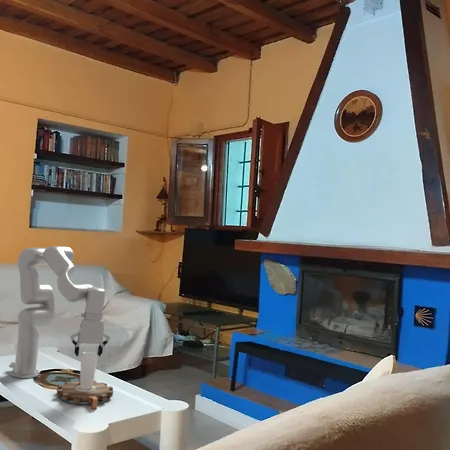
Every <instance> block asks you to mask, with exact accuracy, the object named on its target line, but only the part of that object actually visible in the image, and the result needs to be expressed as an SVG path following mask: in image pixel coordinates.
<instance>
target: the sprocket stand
mask: <svg viewBox="0 0 450 450" xmlns="http://www.w3.org/2000/svg"><path fill="white" fill-rule="evenodd" d="M57 397H58V399H59V400H61V401H62V402H64V403H66V404H70V405H76V406H89V407H90V408H91V410H97V408H98V405H101V404H104V403H106V402H108V401H110V400H111V398H112V397H107V400H105V401H101V400H98V398H97V397H91V403H89V402H88V401H81V402H80V403H78V402H74V400H71V399H68V400H64V399H62V396H58V395H57Z"/></svg>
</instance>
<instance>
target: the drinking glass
mask: <svg viewBox="0 0 450 450" xmlns="http://www.w3.org/2000/svg"><path fill="white" fill-rule="evenodd" d="M97 364H98V352H95V351H83V352H81V356H80V372H81V374H80V373H79V379H80V388H81V389H85V390H87V389H91V388H92V387H93V381H95V380H94V379H95V374H96V369H97Z"/></svg>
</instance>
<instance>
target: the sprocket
mask: <svg viewBox="0 0 450 450" xmlns="http://www.w3.org/2000/svg"><path fill="white" fill-rule="evenodd" d="M80 374H81V371H80V372H79V375H80ZM56 396H57V397H58V396H62V399H64V400H68V399H71V400H74V402H78V403H80V402H81V401H88V402H89V403H91V397H97V398H98V400H101V401H105V400H107V397H111V398H112V397H113V396H114V387H113V386H108V383H106V382H101V383H100V382H97V381H96V380H93V387H92V388H91V389H87V390H85V389H81V388H80V378H79V379H78V380H76V381H66V382H64V384H58V385H57V389H56Z"/></svg>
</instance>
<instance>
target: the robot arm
mask: <svg viewBox="0 0 450 450" xmlns="http://www.w3.org/2000/svg"><path fill="white" fill-rule="evenodd" d="M74 260H75V254H74V251H73V249H72V248H70V247H69V246H65V245H64V246H63V245H62V246H59V245H52V246H48V247H27V248H24V249H23V250H22V251H20V252H19V255H18V257H17V268H18V272H19V284H20V285H19V287H20V300H21V302H22V304H24V305H26V306H27V305H28V306H29V305H38V306H33V307H32V306H31V307H27V308H23V309H21V310H20V311H19V312H18V314H17V326H18V328H17V329H18V330H17V331H18V332H17V333H18V334H17V342H16V353H15V362H14V361H12V362H11V363H10V364H8V367H9V368H10V369H11V368H12V370H11V371H10V376H12V377H14V378H16V379H32V378H36V377H38V376H39V374H40V372H39V370H37V361H38V355H39V345H40V334H39V332H38V329H37V328H43V327H48V326H51V325H52V324H53V323H54V321H55V316H56V315H55V314H56V312H55V311H56V310H55V309H56V307H55V305H56V304H55V292H54V289H53V288H52V286H51V285H49V284H47V283H40V274H39V272H38V270H37V268H36V267H35V266H37V267H38V266H39V267H41V266H48V267H49V268H50V269H51V270H52V271H53V273H54V274H55V275H56V276H57V280H56V283H57V288H58V291H59V293H60V294H61V295H62V296H63V297H64V298H65V300H66V301H68V302H69V303H82V302H83V303H84V302H85V307H84V308H85V309H84V312H81V313H80V317H82V319H81V323H80V326H79V330H78V331H76V332H75V333H73V334H71V335H69V338H70V341H71V343H72V344H73V345H74V351H73V352H74V355H75V356H76V357H79V353H80V345H81V344H94V345H95V344H98V347H97V348H98V350H97V357H98V356H99V357H101V356H102V354H103V350H104V347H105V346H106V345H107V344H108V343H109V341H110V339H111V336H110V335H109V334H106V333H105V332H104V330H105V329H104V328H105V327H104V326H105V325H104V324H105V321H104V319H103V313H104V306H105V298H106V290H105V289H104V288H101V287H96V286H94V285H93V284H90V283H89V284H88V283H86V284H83V283H82V284H74V283H73V282H72V281H71V280H70V277H71V276H72V275H73V274H74V272H75V271H76V268H75V267H76V266H75V265H74V263H72V262H73V261H74ZM76 337H77V341H76V340H75V338H76ZM104 338H105V340H104Z"/></svg>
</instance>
